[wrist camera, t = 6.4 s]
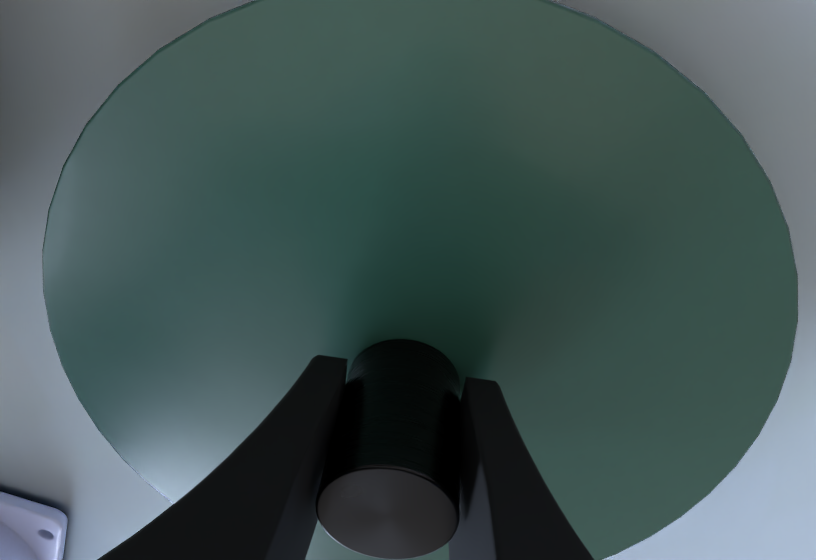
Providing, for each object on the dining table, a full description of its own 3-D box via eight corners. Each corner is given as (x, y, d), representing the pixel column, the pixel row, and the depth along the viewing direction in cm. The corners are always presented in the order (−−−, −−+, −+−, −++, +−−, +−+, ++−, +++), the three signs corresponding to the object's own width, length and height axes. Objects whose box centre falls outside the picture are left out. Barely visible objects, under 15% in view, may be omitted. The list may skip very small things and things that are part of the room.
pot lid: (540, 608, 18) (561, 784, 14) (51, 452, 16) (-74, 610, 12) (962, 192, 10) (1253, 340, 6) (115, -214, 8) (-174, -339, 4)
